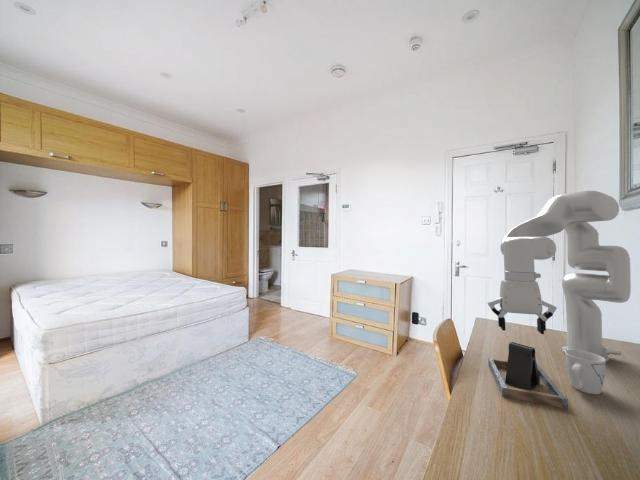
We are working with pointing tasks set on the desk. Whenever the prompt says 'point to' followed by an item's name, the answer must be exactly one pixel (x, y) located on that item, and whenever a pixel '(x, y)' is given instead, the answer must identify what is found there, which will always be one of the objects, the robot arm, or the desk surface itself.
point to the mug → (585, 370)
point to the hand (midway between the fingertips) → (521, 330)
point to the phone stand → (522, 367)
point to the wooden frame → (548, 399)
